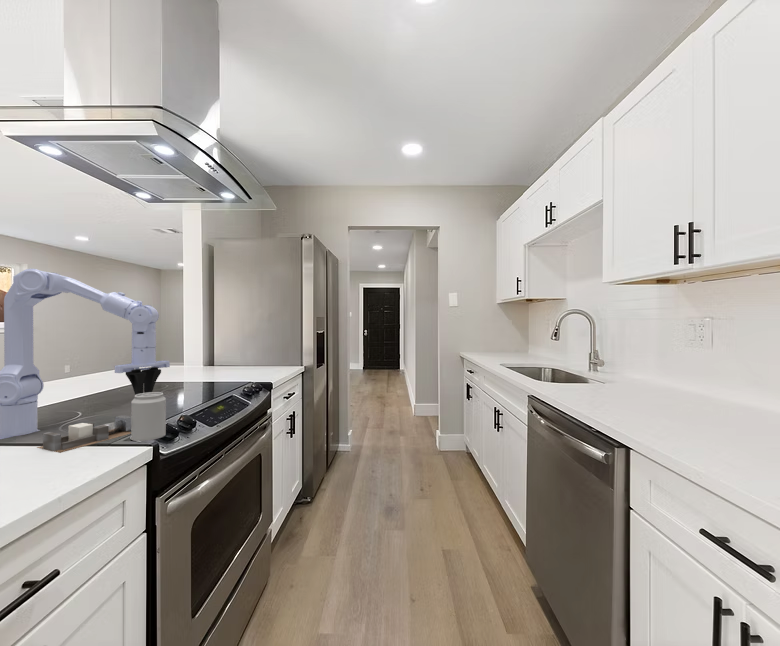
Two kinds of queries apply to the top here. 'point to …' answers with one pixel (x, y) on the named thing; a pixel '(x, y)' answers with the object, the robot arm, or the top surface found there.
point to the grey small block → (120, 424)
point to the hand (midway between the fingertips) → (143, 395)
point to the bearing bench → (62, 444)
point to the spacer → (80, 431)
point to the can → (148, 416)
